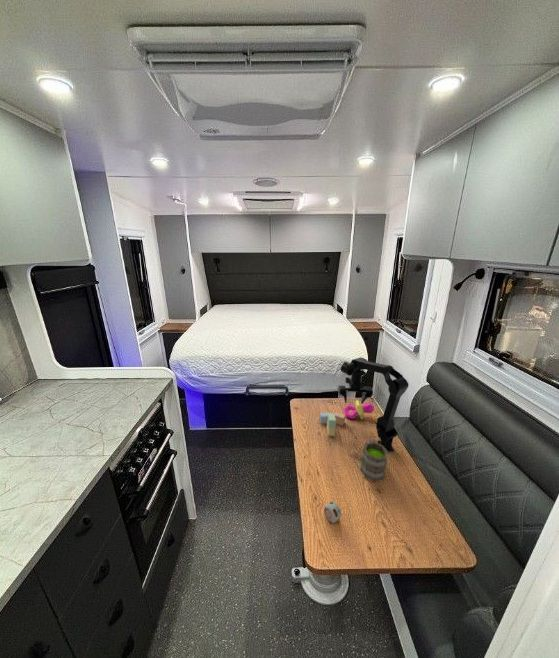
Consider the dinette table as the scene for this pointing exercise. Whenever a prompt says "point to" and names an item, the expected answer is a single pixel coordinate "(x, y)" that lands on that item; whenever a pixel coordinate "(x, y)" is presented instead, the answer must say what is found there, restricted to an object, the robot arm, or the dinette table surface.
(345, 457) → the dinette table surface
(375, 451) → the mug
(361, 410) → the toy
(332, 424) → the green brick
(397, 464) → the dinette table surface
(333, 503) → the roller toy
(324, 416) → the slate brick
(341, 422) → the terracotta brick
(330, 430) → the mustard brick
